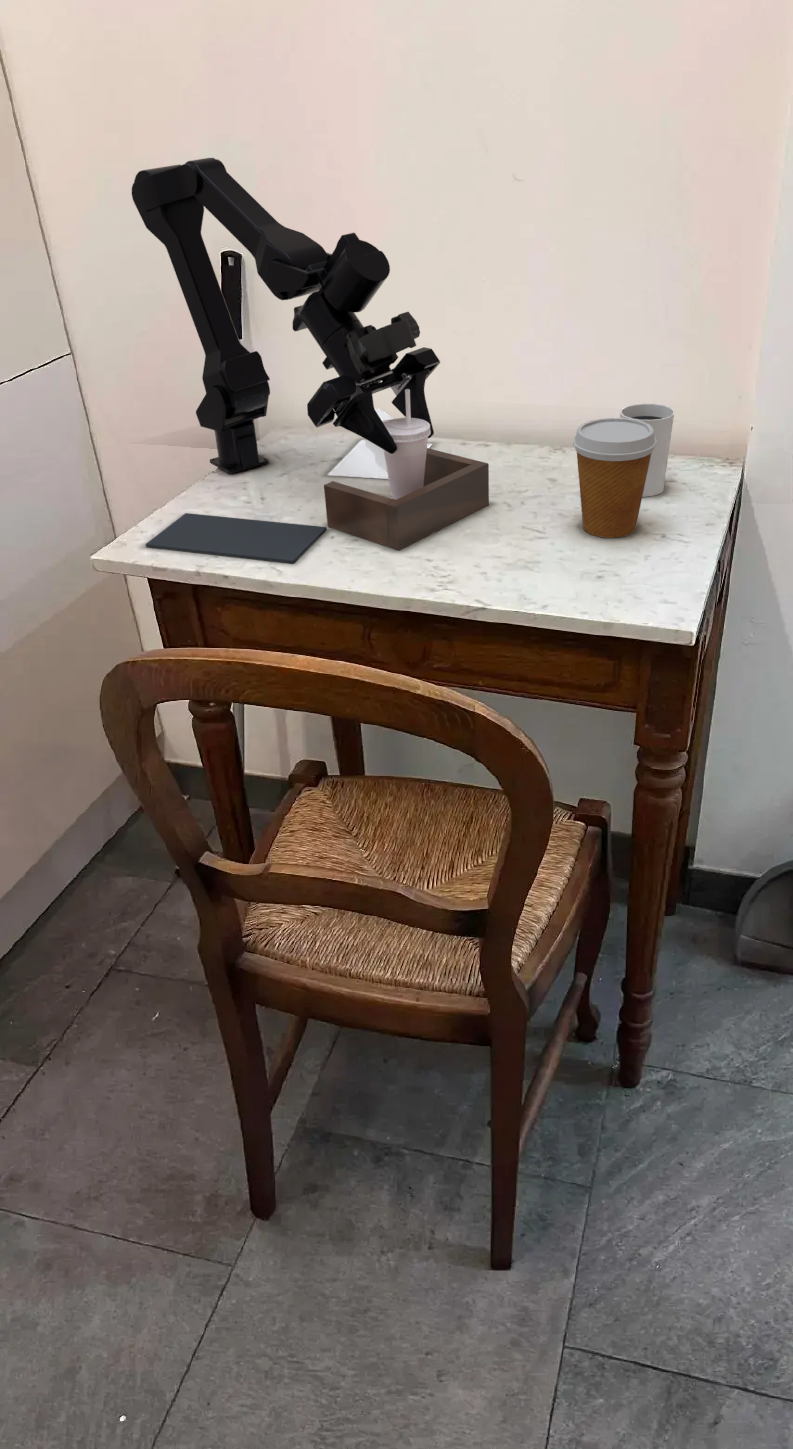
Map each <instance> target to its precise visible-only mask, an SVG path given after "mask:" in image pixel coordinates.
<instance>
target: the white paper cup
mask: <svg viewBox="0 0 793 1449" xmlns="http://www.w3.org/2000/svg"><path fill="white" fill-rule="evenodd" d="M674 416H675V410H674V409H673V408H671V406H670V407H669V406H666V405H665V404H656V403H638V404H636V403H635V404H630V405H626V406H624V407H623V408H620V412H619V418H627V419H634V420H639V421H642V422H645V423H647V424H649V425H650V426H652V428H653V431H654V436H655V438H656V439H657V443H656V446H655V447H654V450H653V452H652V453H651V458H650V462H649V467H648V472H647V477H646V481H645V486H644V491H643V496H642V498H646V497H655V496H657V495H660V494H661V493H663V492H664V490H665V484H666V483H665V482H666V476H667V468H668V462H669V454H670V446H671V439H672V431H673V425H674Z"/></svg>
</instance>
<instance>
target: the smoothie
mask: <svg viewBox="0 0 793 1449" xmlns="http://www.w3.org/2000/svg"><path fill="white" fill-rule="evenodd" d="M405 400H406V417H396V418H393V419H391V420H388V421H385V422H383V424H384V425H385V427H386V428H387V430H388V432H389V433H390V435H391V436H392V438H393V440H394V442H395V444H396V446H397V451H396V452H395V453H393V454H390V453H389V452H387V451H385V450H383V451H384V456H385V462H386V467H387V473H388V479H387V480H388V484H389V489H390V495H391V499H395V500H396V499H399V498H401V497H403V496H405V495H407V494H409V493H411V492H414V491H416V490H418V489H420V488H422V487H423V484H424V473H425V463H426V452H427V443H428V441H429V438H428V436H429V435H430V434H431V431H430V424H429V423H428V422H427V421H425V420H422V419H418V418H411V410H410V390H409V389H406V390H405Z"/></svg>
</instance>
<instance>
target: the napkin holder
mask: <svg viewBox="0 0 793 1449" xmlns="http://www.w3.org/2000/svg"><path fill="white" fill-rule="evenodd" d="M374 409H375V411H376V412H377V414H378V415H379V417H380V419H381V420H382V422H385V421H388V420H391V419H394V418H393V417H392V416H390V415H389V414H388V413H386V412H385V411H384V410H382V409H381V408H380V407H377V408H374ZM432 445H433V443H430V442H429V443H428V442H427V448H429V449H431V447H432ZM327 476H333V477H334V476H335V477H347V478H348V477H349V478H365V479H382V480H389V479H388V473H387V467H386V462H385V456H384V451H383V449H382V448H380V447H378V446H377V445H375V444H373V443H372V442H370V441H368V440H367V439H361V440H360V441H358V443H357V444H356V445H355V446H354V447H353V448H352V449H351V450H350V451H349V452H348V453H347V454H346V455H345V456H344V457H343V458H342V459H341V460H340V461H339V462H338V463H337V464H336V465H335V466H334V467H333V468H332V469H331V471H330V472H328V473H327Z"/></svg>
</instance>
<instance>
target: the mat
mask: <svg viewBox="0 0 793 1449" xmlns="http://www.w3.org/2000/svg"><path fill="white" fill-rule="evenodd" d="M327 530H328V526H319V525H308V524H298V523H290V522H289V523H288V522H279V521H270V520H269V521H268V520H259V519H249V518H248V519H247V518H240V517H239V518H238V517H231V516H230V517H228V516H219V515H211V514H210V515H209V514H198V513H191V512H190V513H189V512H185V513H184V514H183V515H181V516H180V517H179V518H177V519H176V520H175V521H173V522H172V523H171V524H170V525H169V526H167V527H166V528H164V529H163V530H162V531H161V532H160V533H158V534H156V535H154V537H153V538H151V539H150V540H149V541H147V542H146V543H145V548H152V549H161V550H167V551H168V550H169V551H179V552H186V553H187V552H188V553H196V554H203V555H204V554H205V555H213V556H222V557H224V556H225V557H231V558H232V557H233V558H240V559H250V560H257V561H258V560H259V561H266V562H275V563H276V562H277V563H285V564H295V563H296V561H298V560H299V559H300V558H301V557H302V556H303V555H304V554H305V553H306V552H307V551H308V550H309V548H311V547H312V546H313V545H314V544H315V542H317V540H319V539H320V538H321V537H322V536H323V535H324V533H325V532H326V531H327Z"/></svg>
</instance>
